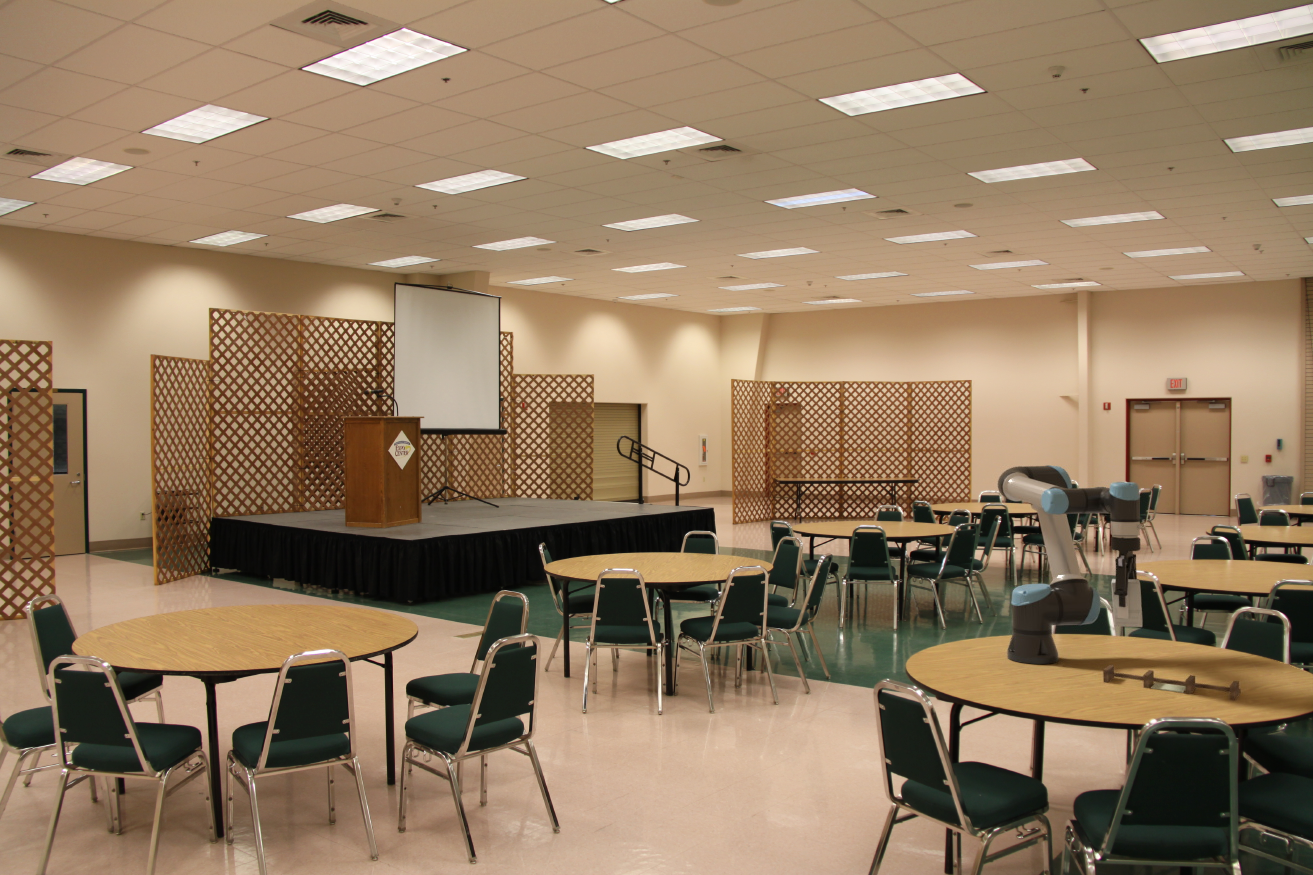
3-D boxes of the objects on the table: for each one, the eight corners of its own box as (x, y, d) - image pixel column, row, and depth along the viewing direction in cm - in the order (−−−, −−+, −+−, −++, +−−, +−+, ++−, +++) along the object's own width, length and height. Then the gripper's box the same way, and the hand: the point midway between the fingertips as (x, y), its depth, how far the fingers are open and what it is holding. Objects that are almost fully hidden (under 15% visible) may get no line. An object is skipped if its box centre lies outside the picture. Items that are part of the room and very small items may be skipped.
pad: (1150, 688, 259) (1150, 687, 259) (1155, 683, 264) (1155, 682, 264) (1183, 692, 254) (1183, 691, 254) (1187, 687, 259) (1187, 686, 259)
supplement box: (1142, 622, 268) (1140, 578, 268) (1142, 627, 261) (1140, 582, 261) (1114, 621, 271) (1111, 578, 271) (1113, 626, 264) (1111, 581, 265)
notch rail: (1103, 681, 267) (1103, 669, 267) (1111, 675, 274) (1111, 663, 274) (1235, 699, 246) (1235, 686, 246) (1240, 692, 254) (1240, 679, 254)
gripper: (1131, 540, 256) (1132, 623, 256) (1148, 533, 272) (1149, 611, 272) (1101, 538, 260) (1103, 620, 260) (1120, 532, 277) (1121, 608, 277)
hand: (1127, 615), depth 266 cm, fingers closed on supplement box, 8 cm apart
